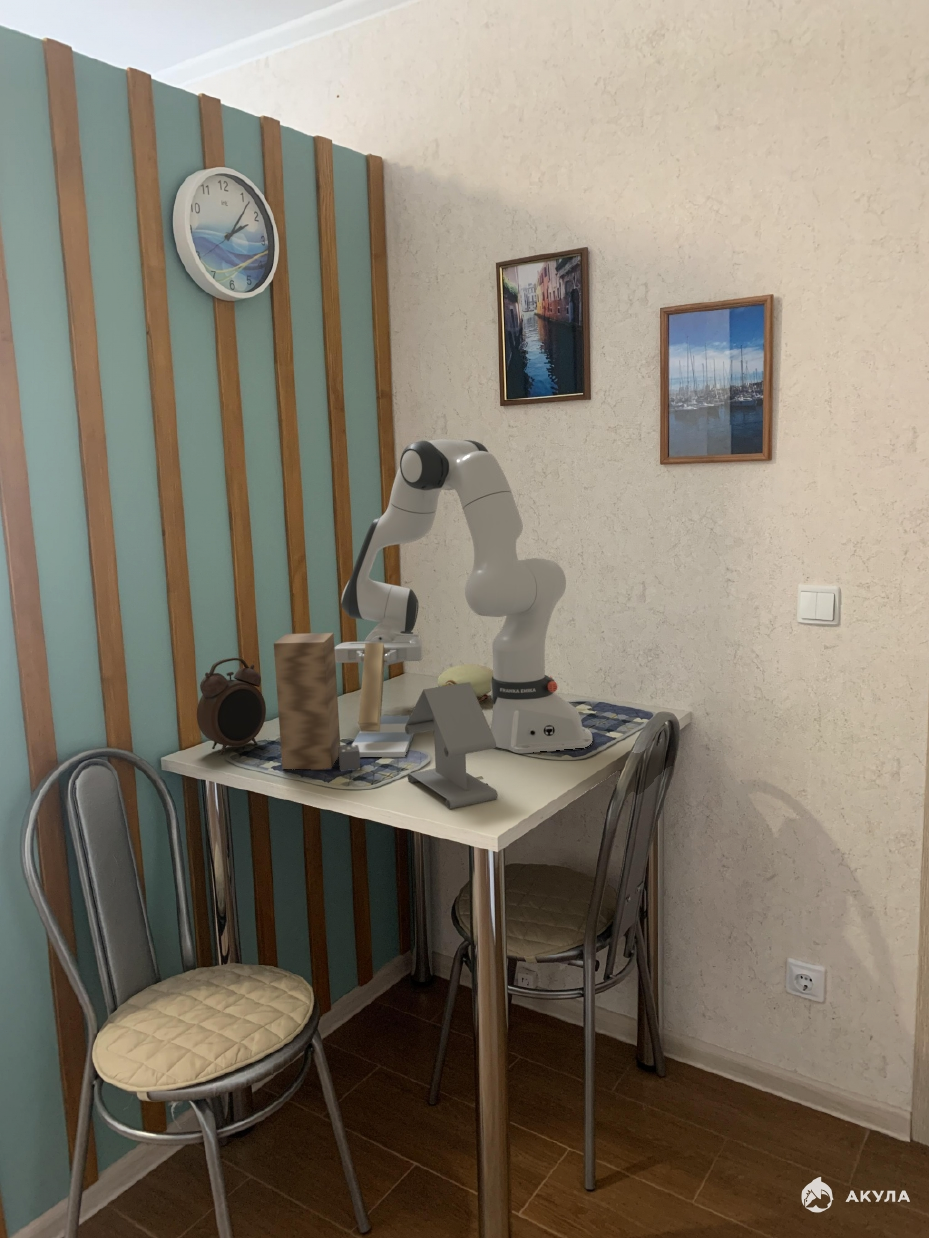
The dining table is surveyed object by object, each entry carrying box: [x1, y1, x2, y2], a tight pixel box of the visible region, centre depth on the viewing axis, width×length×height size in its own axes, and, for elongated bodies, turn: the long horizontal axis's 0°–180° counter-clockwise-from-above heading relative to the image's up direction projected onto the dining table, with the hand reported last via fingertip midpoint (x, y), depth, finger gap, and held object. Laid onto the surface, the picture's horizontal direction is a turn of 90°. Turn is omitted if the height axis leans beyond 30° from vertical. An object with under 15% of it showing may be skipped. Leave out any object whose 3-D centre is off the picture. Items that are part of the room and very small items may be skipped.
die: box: [338, 745, 361, 771], centre depth 189 cm, size 4×4×4 cm
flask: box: [437, 663, 493, 703], centre depth 237 cm, size 9×16×18 cm
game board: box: [350, 714, 414, 758], centre depth 209 cm, size 12×28×1 cm, turn 177°
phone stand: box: [405, 682, 498, 810], centre depth 173 cm, size 18×10×20 cm, turn 28°
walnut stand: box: [273, 632, 341, 771], centre depth 192 cm, size 10×10×26 cm
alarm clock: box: [196, 657, 267, 755], centre depth 203 cm, size 14×7×20 cm, turn 138°
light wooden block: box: [357, 643, 386, 732], centre depth 205 cm, size 4×20×4 cm
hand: (374, 658), depth 208 cm, fingers closed on light wooden block, 4 cm apart
